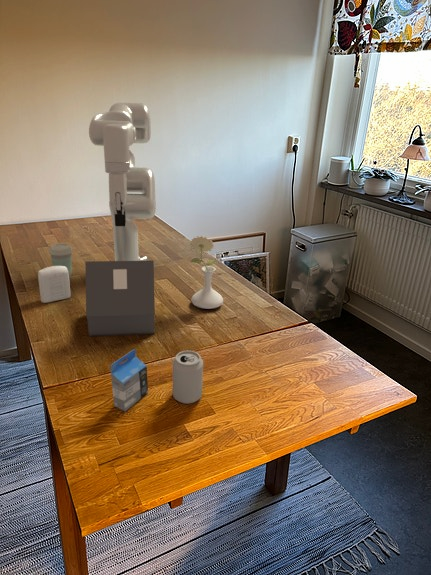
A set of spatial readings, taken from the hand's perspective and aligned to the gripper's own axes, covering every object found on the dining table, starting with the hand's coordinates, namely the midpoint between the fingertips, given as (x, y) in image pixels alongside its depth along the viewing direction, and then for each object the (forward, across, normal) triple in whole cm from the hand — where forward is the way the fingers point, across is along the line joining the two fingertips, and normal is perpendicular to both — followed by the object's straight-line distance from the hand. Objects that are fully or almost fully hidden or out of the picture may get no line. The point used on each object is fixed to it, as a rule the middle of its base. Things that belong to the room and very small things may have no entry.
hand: (120, 224), depth 147 cm
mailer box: (+29, +13, 0) cm, 32 cm away
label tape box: (+29, +52, +4) cm, 60 cm away
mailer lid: (+15, +17, 0) cm, 23 cm away
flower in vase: (+29, +2, +28) cm, 41 cm away
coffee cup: (+29, -26, -25) cm, 46 cm away
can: (+29, +52, +18) cm, 62 cm away
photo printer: (+29, -5, -24) cm, 38 cm away
